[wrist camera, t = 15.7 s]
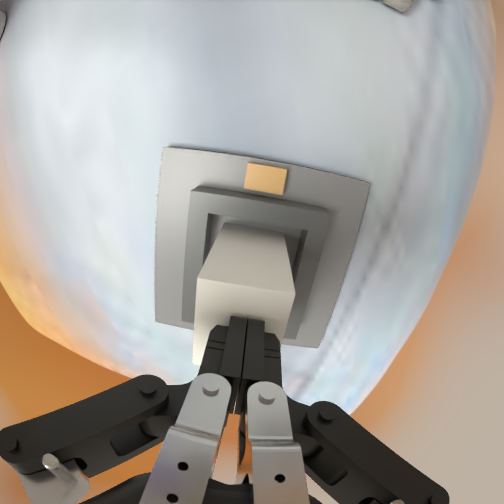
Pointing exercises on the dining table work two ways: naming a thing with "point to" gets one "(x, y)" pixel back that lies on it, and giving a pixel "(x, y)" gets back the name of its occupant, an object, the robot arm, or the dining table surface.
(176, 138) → the dining table surface
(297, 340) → the socket plate
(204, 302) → the plug
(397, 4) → the bunny figurine
